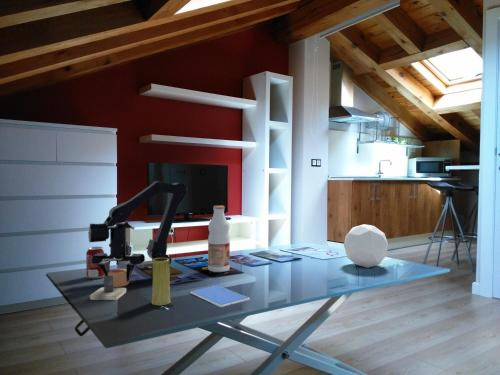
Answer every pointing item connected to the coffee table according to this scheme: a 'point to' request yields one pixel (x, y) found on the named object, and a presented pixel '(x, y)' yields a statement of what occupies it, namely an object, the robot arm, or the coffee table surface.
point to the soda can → (92, 268)
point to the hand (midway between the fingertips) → (118, 281)
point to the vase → (161, 282)
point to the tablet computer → (219, 296)
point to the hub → (119, 277)
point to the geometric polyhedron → (366, 245)
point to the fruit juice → (218, 242)
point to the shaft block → (108, 291)
